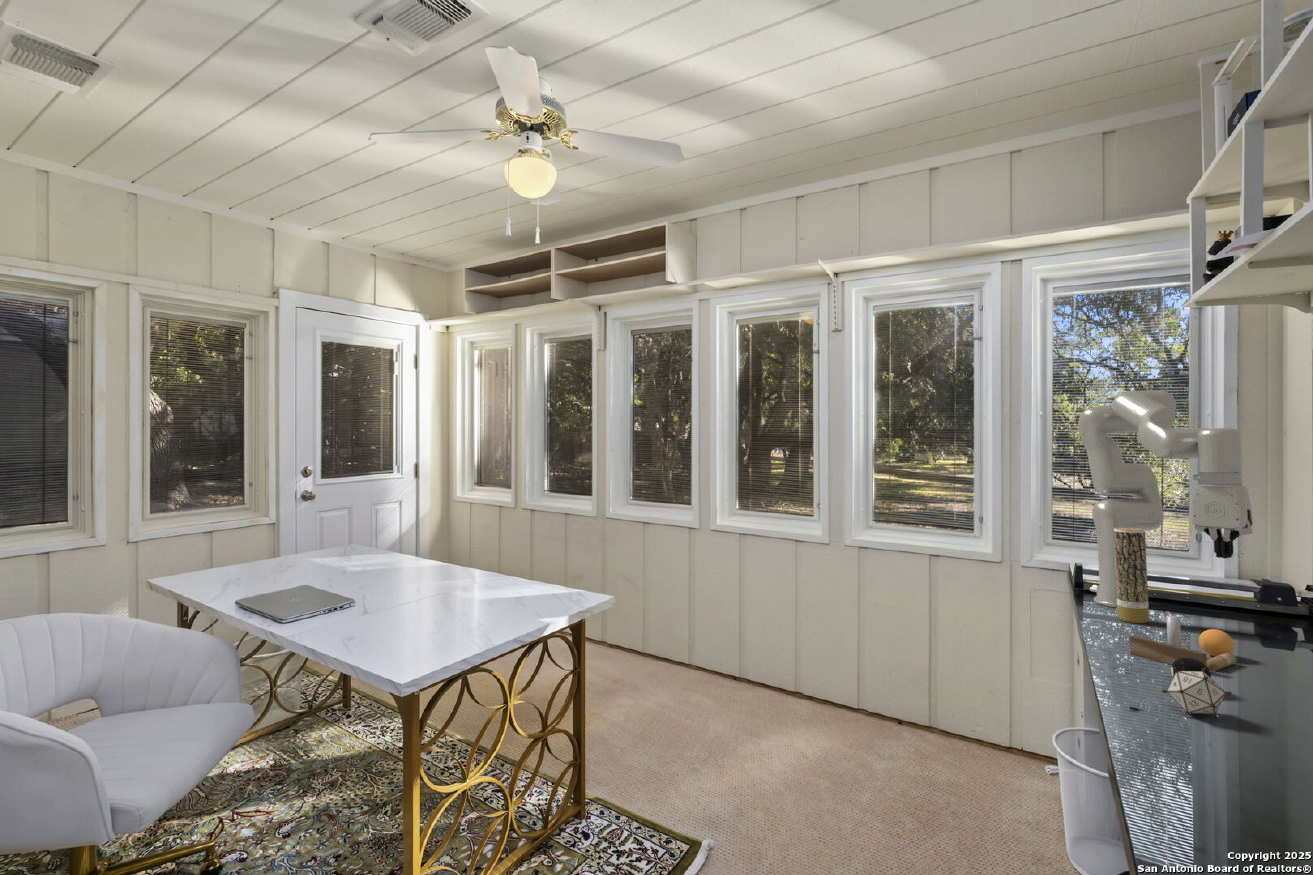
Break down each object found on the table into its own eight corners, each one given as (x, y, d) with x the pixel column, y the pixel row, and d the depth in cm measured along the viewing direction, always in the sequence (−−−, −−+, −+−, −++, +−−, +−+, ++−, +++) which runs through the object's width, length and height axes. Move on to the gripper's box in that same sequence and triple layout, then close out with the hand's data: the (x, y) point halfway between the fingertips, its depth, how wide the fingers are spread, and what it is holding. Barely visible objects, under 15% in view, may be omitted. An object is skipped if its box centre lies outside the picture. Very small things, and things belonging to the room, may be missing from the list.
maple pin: (1229, 665, 135) (1211, 673, 131) (1219, 655, 136) (1201, 662, 133) (1239, 660, 133) (1221, 668, 130) (1229, 650, 135) (1211, 657, 131)
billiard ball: (1168, 681, 126) (1167, 651, 126) (1207, 686, 123) (1205, 656, 123) (1175, 691, 121) (1174, 660, 121) (1215, 697, 118) (1214, 665, 118)
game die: (1184, 734, 111) (1139, 682, 115) (1209, 709, 114) (1165, 659, 118) (1230, 728, 103) (1180, 673, 107) (1256, 702, 106) (1206, 649, 110)
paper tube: (1155, 624, 165) (1151, 530, 165) (1129, 624, 165) (1125, 531, 165) (1136, 617, 172) (1132, 527, 172) (1111, 617, 172) (1107, 527, 172)
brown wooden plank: (1134, 652, 143) (1133, 635, 143) (1207, 672, 130) (1206, 653, 130) (1130, 653, 142) (1129, 636, 143) (1203, 673, 130) (1202, 654, 130)
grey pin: (1165, 652, 142) (1163, 615, 143) (1173, 651, 143) (1171, 615, 143) (1176, 656, 140) (1174, 618, 140) (1184, 655, 141) (1182, 617, 141)
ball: (1204, 621, 140) (1201, 629, 144) (1196, 644, 139) (1194, 652, 143) (1239, 632, 136) (1236, 641, 140) (1231, 657, 135) (1228, 665, 139)
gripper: (1174, 479, 152) (1177, 554, 151) (1251, 481, 138) (1255, 563, 138) (1192, 478, 155) (1195, 551, 154) (1269, 480, 141) (1273, 560, 141)
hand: (1224, 557), depth 146 cm, fingers closed
